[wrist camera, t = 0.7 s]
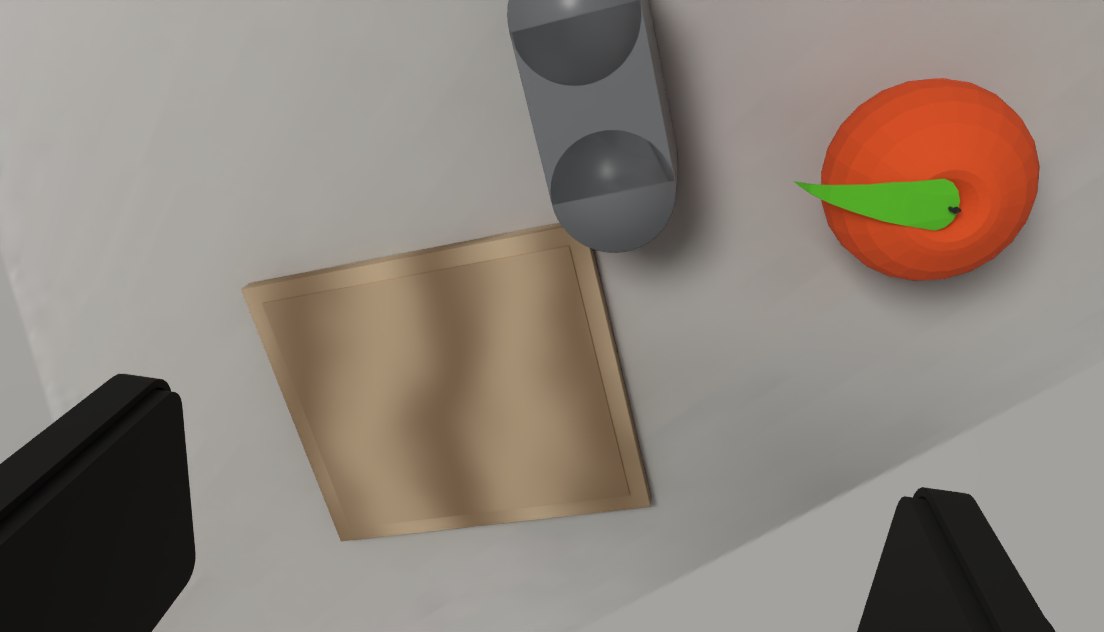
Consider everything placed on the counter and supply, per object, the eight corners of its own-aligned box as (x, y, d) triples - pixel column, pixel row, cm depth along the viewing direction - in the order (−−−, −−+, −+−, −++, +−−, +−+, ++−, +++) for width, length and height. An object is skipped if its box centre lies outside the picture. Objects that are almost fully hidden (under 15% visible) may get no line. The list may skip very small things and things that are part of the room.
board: (585, 217, 35) (583, 224, 34) (651, 496, 40) (650, 507, 39) (249, 283, 39) (240, 290, 38) (346, 531, 44) (340, 542, 43)
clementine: (771, 239, 34) (790, 305, 28) (791, 63, 32) (817, 91, 25) (978, 249, 33) (1048, 320, 27) (1018, 67, 31) (1105, 98, 24)
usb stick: (687, 202, 34) (686, 240, 30) (582, 222, 35) (566, 262, 31) (622, -139, 30) (610, -156, 25) (505, -105, 31) (473, -115, 26)
